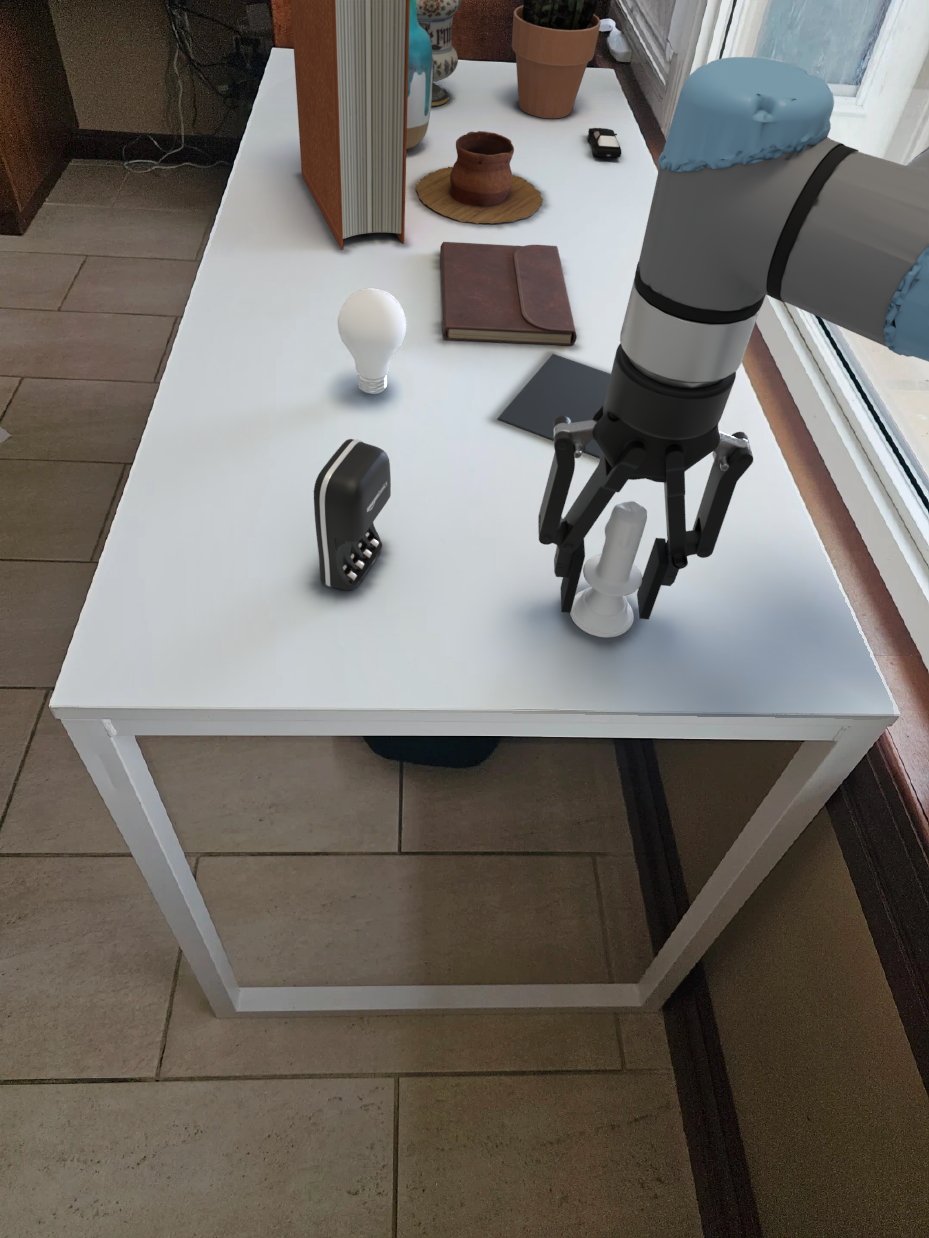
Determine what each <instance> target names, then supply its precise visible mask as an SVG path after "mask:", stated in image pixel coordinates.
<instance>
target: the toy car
mask: <svg viewBox="0 0 929 1238" xmlns="http://www.w3.org/2000/svg"><path fill="white" fill-rule="evenodd" d="M587 133H588V134H587V142H589V143H590V145H591V149H592V156H594V157H608V158H621V156H622V148H621V145H620V143H619V141H618V138H617V136H618V133H615V131H614V129H610V128H604V127H591V128H590V127H589V128H588V130H587Z"/></svg>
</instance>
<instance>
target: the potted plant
mask: <svg viewBox="0 0 929 1238" xmlns="http://www.w3.org/2000/svg"><path fill="white" fill-rule="evenodd" d="M597 7H598V0H523V5H520V6H518V7H516V8H515V9H514V10H513V16H512V17H513V18H512V19H513V20H512V32H511V33H512V34H511V48H512V51H513V53H515V63H516V65H515V66H516V81H517V97H518V107H519V108H520V110H522V111H523V112H524V113H526V114H528V115H530V116H533V117H537V118H542V119H550V120H551V119H552V120H553V119H560V118H565V117H567V116H569V115H570V114H571V112H572V111H573V108H574V105H575V102H576V99H577V96H578V93H579V90H580V87H581V84H582V81H583V78H584V76H585V72H586V69H587V66H588V64H589V62H590V61H592V60H593V59H594V56H595V52H596V47H597V43H598V38H599V33H600V30H601V29H600V28H601V24H602V21H601V19H600V18H599V17H598V15H596V14H595V12H596V10H597Z"/></svg>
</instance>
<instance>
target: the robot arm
mask: <svg viewBox="0 0 929 1238" xmlns="http://www.w3.org/2000/svg"><path fill="white" fill-rule="evenodd" d="M679 92H680V93H679V96H678V100H677V102H676V106H675V110H674V113H673V116H672V120H671V123H670V126H669V130H668V133H667V137H666V140H665V144H664V145H663V146H664V147H663V150H662V152H660V155H659V156H658V160H657V166H658V172H657V177H656V181H655V186H654V190H653V193H652V194H653V195H652V200H651V204H650V207H649V213H648V217H647V222H646V226H645V230H644V231H645V232H644V236H643V240H642V245H641V249H640V254H639V259H638V261H637V264H636V269H635V273H634V278H633V282H632V286H631V291H630V294H629V298H628V302H627V305H626V310H625V314H624V317H623V322H622V326H621V330H620V335H619V344H618V346H617V348H616V351H615V355H614V359H613V364H612V368H611V372H610V374H611V376H610V380H609V384H608V389H607V393H606V397H605V401H604V403H603V405H602V406H601V408H600V409H599V410H598V411H597V412H596V413H595V415H594V416H593V419H592V420H588V421H582V422H575V423H571V421H570V419H569V418H568V417H566V416H560V417H557V418H556V419H555V420H554V423H553V427H554V441H553V447H554V453H553V458H552V461H551V466H550V469H549V473H548V477H547V481H546V485H545V488H544V493H543V497H542V500H541V504H540V508H539V512H538V517H537V518H538V519H537V521H538V523H537V524H538V528H537V529H538V542H539V543H540V544H541V545H548V546H549V545H552V544H554V545H556V549H555V554H554V557H553V572H554V576H555V577H556V578H562V579H561V584H560V605H561V606H560V612H561V613H569V614H570V613H571V609H572V606H573V602H574V598H575V595H577V590H578V585H579V582H580V578H581V574H582V571H583V567H584V564H585V563H584V562H585V559H586V550H585V549H586V547H585V539H586V537H587V535H588V534H589V532H590V531H591V529H592V528H593V526H594V524H595V523H596V522H597V520H598V519H599V518H600V516H601V515H602V513H603V512H604V511H605V509H606V507H607V505H608V504H609V503H610V501H611V500H612V498H613V497H614V495H616V493H620V492H621V491H622V489H623V488H624V486H625V485H626V484H627V482H629V481H628V480H631V481H637V480H648V481H651V482H655V483H663V488H664V491H663V492H664V508H665V523H666V525H665V526H666V538H667V539H666V538H662V537H655V539H654V542H653V545H652V547H651V550H650V554H649V557H648V559H647V563H646V566H645V568H644V571H643V573H642V583H641V586H640V587H639V589H638V590H637V591H636V598H637V599H636V600H637V608H638V609H637V610H638V616H639V619H640V620H650V617H651V614H652V612H653V610H654V607H655V604H656V601H657V598H658V595H659V593H660V589H661V588H662V586H663V587H664V586H665V587H671V586H673V584H674V583H675V582H676V578H677V575H678V573H679V571H680V570H682V569H685V568H686V567H687V566H688V565H689V561H688V560H689V559H688V557H690V556H694V555H696V556H697V557H699V558H701V559H705V558H709V557H711V556H712V555H713V553H714V550H715V547H716V544H717V541H718V538H719V535H720V532H721V530H722V526H723V523H724V521H725V518H726V516H727V512H728V509H729V506H730V504H731V500H732V497H733V494H734V491H735V489H736V487H737V486H736V485H737V484H738V481H739V480H740V479H741V477H742V476H743V475H744V474H745V473H746V471H748V469H749V468H750V466H752V465H753V463H754V456H753V452H752V448H751V445H750V442H749V437H748V435H747V433H745V432H744V431H736V432H734V433H733V434H728V433H724V432H722V431H720V430H719V423H720V421H721V419H722V416H723V414H724V412H725V408H726V406H727V403H728V400H729V398H730V395H731V392H732V389H733V387H734V384H735V381H736V377H737V371H738V369H740V366H741V364H742V363H743V360H744V356H745V354H746V351H747V348H748V346H749V343H750V339H751V336H752V334H753V330H754V328H755V325H756V322H757V319H758V316H759V314H760V311H761V308H762V306H763V304H764V301H765V298H766V296H768V297H769V298H773V299H775V300H777V301H780V302H781V303H786V304H789V305H791V306H793V307H795V308H798V309H800V310H802V311H804V312H807V313H809V314H811V315H813V316H815V317H818V318H820V319H823V320H824V321H827V322H830V323H831V324H834V325H836V326H838V327H840V328H843V329H845V330H847V331H849V332H852V333H854V334H857V335H858V336H861V337H863V338H865V339H868V340H869V341H872V342H873V343H877V344H879V345H881V346H884V347H886V348H887V349H888V350H889V351H891V352H892V353H894V354H896V355H898V356H905V357H909V358H910V357H914V358H916V359H919V360H922V361H926V362H929V146H927V147H926V148H925V149H924V150H923V151H921V152H920V153H918V155H916V156H915V157H914V158H913V159H911V160H910V161H909V162H908V163H907V164H906V165H905V164H901V163H899V162H895V161H891V160H888V159H884V158H881V157H878V156H874V155H872V154H867V153H865V152H861V151H859V149H858V148H853V147H851V146H848V145H846V144H844V143H842V142H840V141H836V140H834V139H831V138H830V137H829V133H830V131H831V127H832V126H831V125H832V123H831V121H830V120H831V116H832V114H833V110H834V107H835V97H834V93H833V91H832V88H831V87H830V85H829V84H828V83H827V82H826V81H825V80H824V79H822V77H818V76H817V75H813V74H810V73H809V74H808V72H807V70H806V69H804V68H802V67H799V66H796V65H794V64H790V63H786V62H783V61H779V60H774V59H769V58H768V59H767V58H761V57H750V56H735V57H734V56H733V57H722V58H718V59H715V60H711V61H710V62H708V63H707V64H703V65H701V66H699V67H697V68H695V70H694V71H693V72H691V73H690V74H689V76H688V77H687V78H686V79H685V81H684V83H683V85H682V88H681V89H680V91H679ZM592 440H595V441H596V443H597V445H598V446H599V448H600V449H601V451H602V455H601V458H599V461H598V464H597V466H596V468H595V469H594V471H593V472H592V474H591V476H590V477H589V479H588V480H587V482H586V483H585V485H584V486H583V488H582V489H581V491H580V493H579V494H578V496H577V498H576V499H575V500H574V502H573V504H572V506H570V509H569V510H568V511H567V513H566V514H565V516H564V517H563V512H564V509H565V505H566V502H567V498H568V496H569V492H570V488H571V485H572V481H573V477H574V474H575V469H576V459H580V458H581V457H582V454H584V453H585V452H584V451H585V448H586V445H587V443H588V442H590V441H592ZM710 454H712V458H713V462H712V465H711V468H710V472H709V475H708V478H707V481H706V485H705V488H704V491H703V494H702V498H701V501H700V504H699V507H698V510H697V513H696V517H695V520H694V522H693V523H694V524H693V527H692V530H691V529H690V530H687V523H686V522H687V521H686V498H685V497H686V473H685V472H687V471H688V470H689V469H691V468H692V467H694V466H695V465H696V464H698V463H699V462H701V461H702V460H703V459H704V458H706V457H707V456H709V455H710Z"/></svg>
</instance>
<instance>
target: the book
mask: <svg viewBox="0 0 929 1238" xmlns="http://www.w3.org/2000/svg"><path fill="white" fill-rule="evenodd" d="M290 12H291V14H290V15H291V28H292V30H291V31H292V45H293V60H294V74H295V75H294V78H295V91H296V92H295V93H296V106H297V107H296V108H297V123H298V136H299V137H298V138H299V152H300V153H299V154H300V168H301V177H302V179H303V181H304V183H305V184H306V186H307V188H308V190H309V192H310V193H311V196H312V197H313V199H314V201H315V203H316V205H317V206H318V209H319V211H320V212H321V215H322V216H323V218H324V220H325V222H326V223H327V226H328V227H329V229H330V231H331V233H332V235H333V236H334V238H335V240H336V242H337V244H338V245H339V248H340V250H341V251H343V250H344V240H345V239H348V238H350V237H353V236H358V235H364V234H372V233H373V234H375V233H388V234H395V235H396V236H397V237H398V239H399V240H400V242H401V244H402V245H405V231H406V228H405V227H406V226H405V224H406V223H405V222H406V185H407V184H406V183H407V149H406V146H407V103H408V61H409V18H410V0H290Z"/></svg>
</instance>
